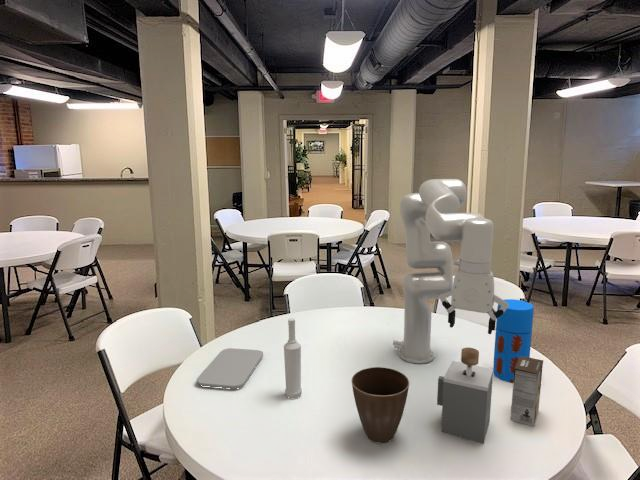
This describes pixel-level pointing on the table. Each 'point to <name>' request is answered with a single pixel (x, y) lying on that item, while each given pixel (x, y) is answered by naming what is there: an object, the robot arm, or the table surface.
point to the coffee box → (526, 390)
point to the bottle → (292, 363)
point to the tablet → (230, 368)
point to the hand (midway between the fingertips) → (470, 328)
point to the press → (465, 401)
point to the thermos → (512, 338)
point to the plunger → (469, 359)
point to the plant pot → (380, 401)
